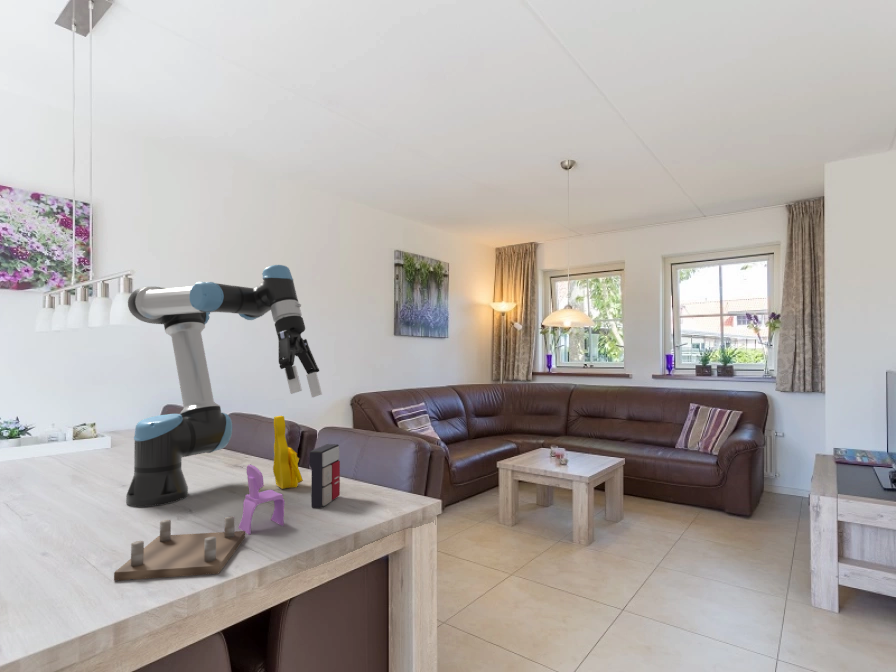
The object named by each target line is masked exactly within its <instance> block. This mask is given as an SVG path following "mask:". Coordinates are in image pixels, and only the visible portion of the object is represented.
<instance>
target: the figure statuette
mask: <svg viewBox="0 0 896 672" xmlns="http://www.w3.org/2000/svg"><path fill="white" fill-rule="evenodd" d="M285 420H286V419H285V416H284V415H277V416H275V415H274V416H273V431H274V432H273V434H274V443H273V453H274V454H273V455H274V456H273V466H272V470H273V475H274V479H275V485H276V486H277V487H278V488H280V489H282V490H284V489H288V488H290V489H291V488H298V487H297V486H299V484H300V483H302V482H304V480H303V477H302V474H301V471H300V469H299V465H298V463H299V460H300V457H298V453H297V452H296V451H295V450H294V449H293V448H292V447H289V446H288V442H287V439H286V421H285Z"/></svg>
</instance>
